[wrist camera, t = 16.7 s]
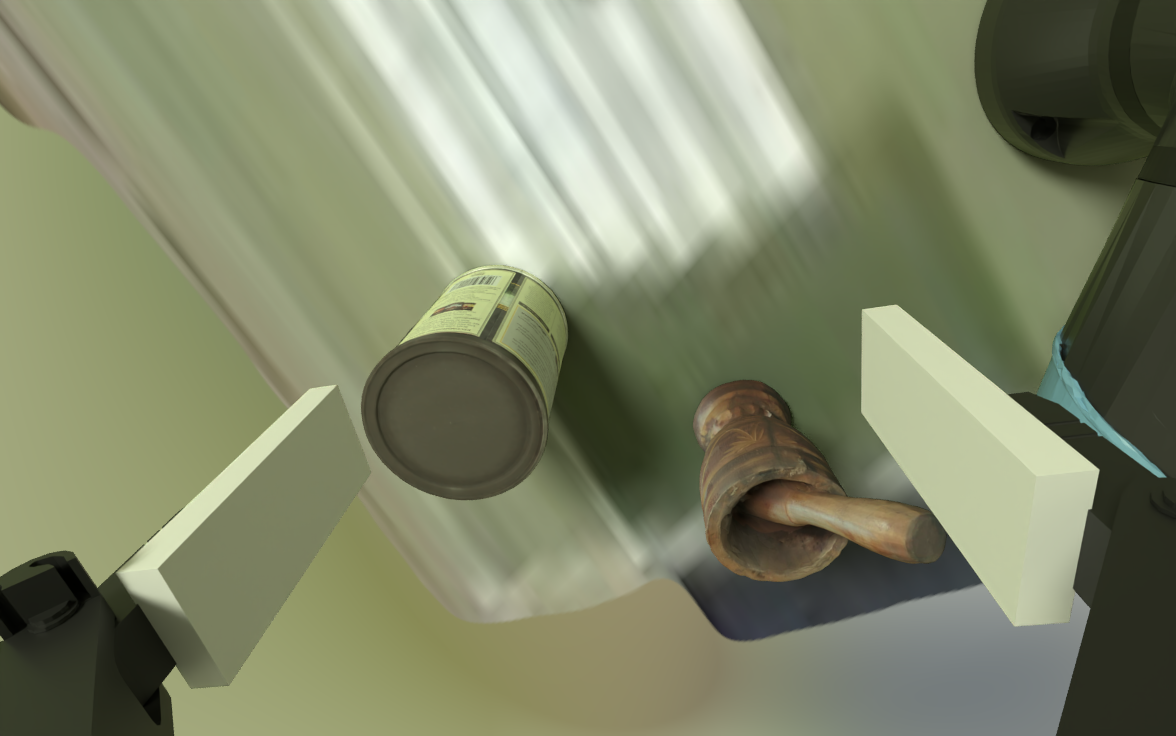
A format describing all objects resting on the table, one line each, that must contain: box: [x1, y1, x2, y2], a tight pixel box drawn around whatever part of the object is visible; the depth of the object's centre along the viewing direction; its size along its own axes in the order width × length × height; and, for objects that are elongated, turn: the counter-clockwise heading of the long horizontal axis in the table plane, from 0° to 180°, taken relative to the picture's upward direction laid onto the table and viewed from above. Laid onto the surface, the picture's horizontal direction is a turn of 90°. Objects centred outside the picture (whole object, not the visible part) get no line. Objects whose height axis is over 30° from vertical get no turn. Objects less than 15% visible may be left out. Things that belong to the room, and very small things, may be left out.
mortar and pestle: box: [693, 380, 947, 582], centre depth 38 cm, size 12×9×20 cm
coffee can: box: [361, 265, 568, 500], centre depth 39 cm, size 10×10×14 cm
